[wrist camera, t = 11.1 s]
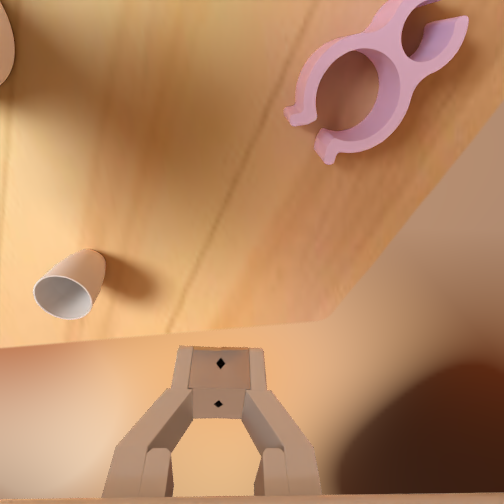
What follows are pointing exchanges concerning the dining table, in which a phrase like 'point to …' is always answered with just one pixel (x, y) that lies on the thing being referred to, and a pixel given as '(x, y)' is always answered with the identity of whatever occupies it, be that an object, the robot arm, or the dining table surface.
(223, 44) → the dining table surface
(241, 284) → the dining table surface
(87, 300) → the cup
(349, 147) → the clip
